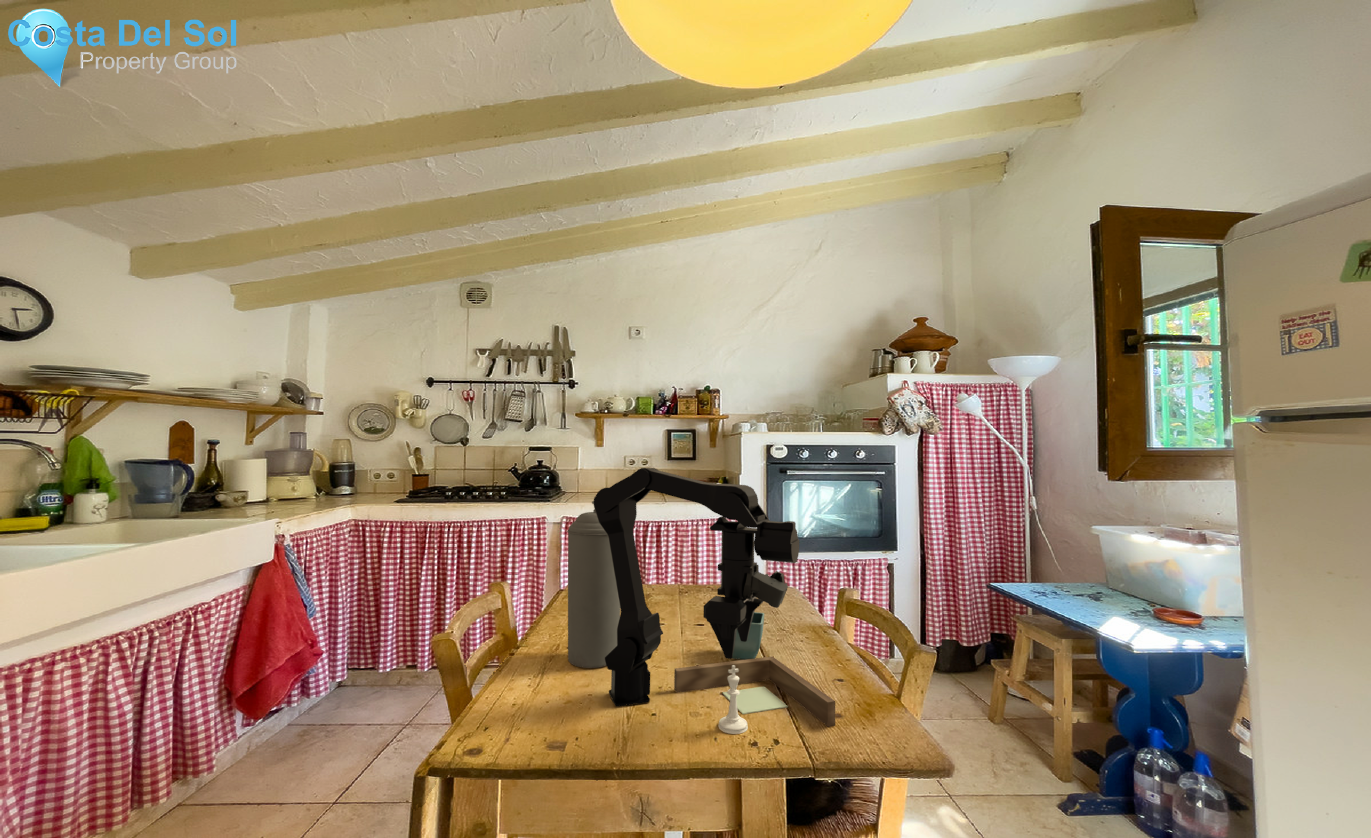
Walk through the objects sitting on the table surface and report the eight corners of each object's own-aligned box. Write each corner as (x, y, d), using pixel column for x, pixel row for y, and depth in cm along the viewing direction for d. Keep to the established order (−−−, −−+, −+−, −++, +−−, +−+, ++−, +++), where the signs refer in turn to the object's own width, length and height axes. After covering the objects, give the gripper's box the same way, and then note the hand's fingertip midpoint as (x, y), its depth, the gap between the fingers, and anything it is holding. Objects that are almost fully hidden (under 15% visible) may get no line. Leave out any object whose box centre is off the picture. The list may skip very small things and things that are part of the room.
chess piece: (713, 722, 93) (714, 662, 94) (739, 718, 95) (740, 658, 96) (725, 736, 89) (726, 672, 90) (753, 731, 91) (753, 669, 91)
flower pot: (762, 665, 119) (762, 623, 120) (722, 662, 121) (722, 620, 122) (764, 651, 128) (764, 612, 129) (727, 648, 130) (727, 609, 130)
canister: (553, 658, 122) (557, 500, 124) (601, 646, 130) (605, 497, 133) (582, 676, 112) (587, 504, 115) (633, 661, 121) (636, 501, 123)
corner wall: (718, 746, 86) (719, 719, 86) (674, 689, 106) (674, 668, 107) (835, 725, 93) (835, 701, 93) (772, 676, 114) (772, 656, 114)
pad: (742, 714, 97) (742, 713, 97) (722, 693, 105) (722, 692, 105) (787, 707, 100) (787, 706, 100) (764, 687, 108) (764, 686, 108)
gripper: (771, 572, 84) (770, 677, 83) (793, 553, 101) (793, 639, 100) (702, 565, 88) (701, 665, 87) (735, 548, 105) (734, 631, 104)
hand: (736, 649), depth 94 cm, fingers open, 9 cm apart
